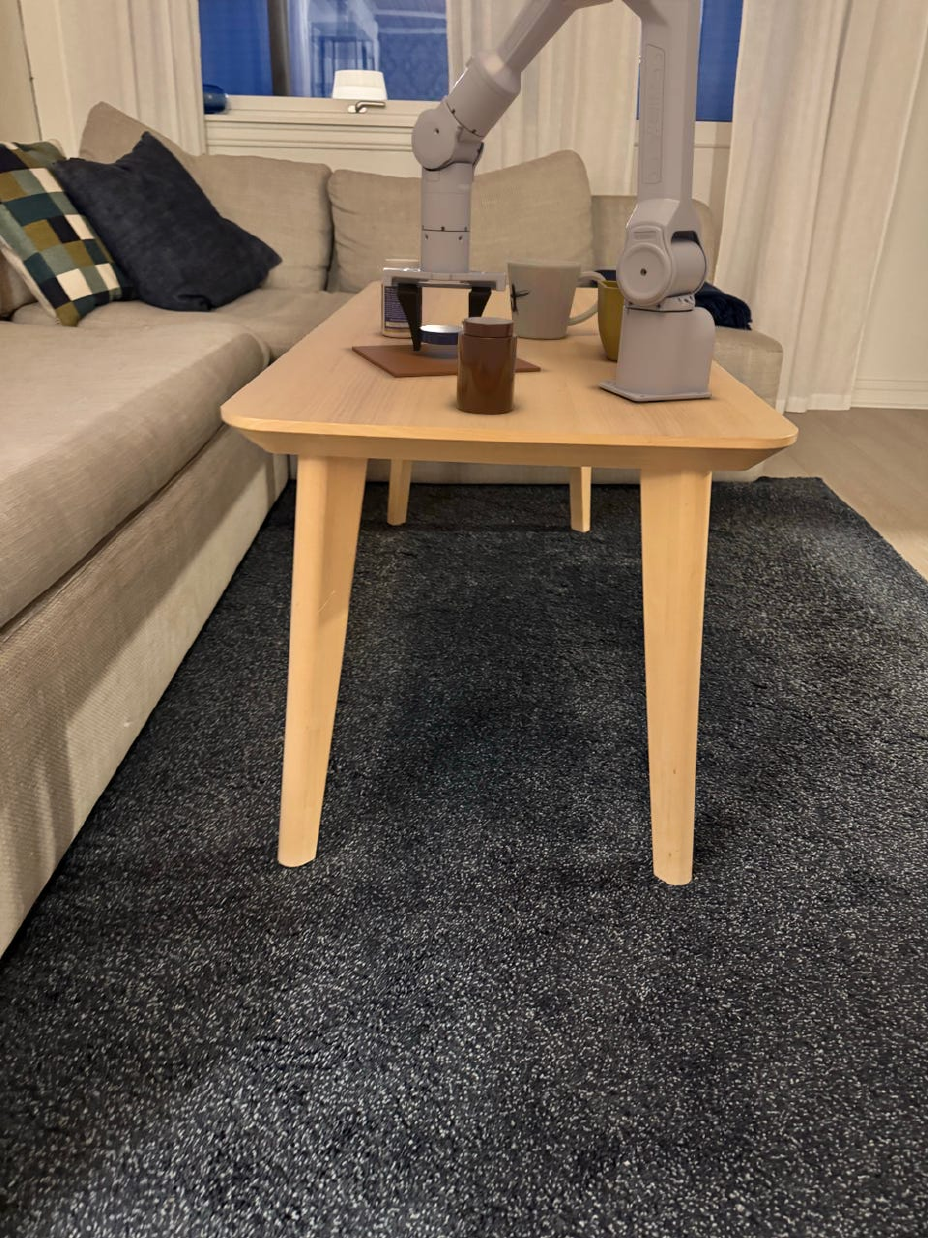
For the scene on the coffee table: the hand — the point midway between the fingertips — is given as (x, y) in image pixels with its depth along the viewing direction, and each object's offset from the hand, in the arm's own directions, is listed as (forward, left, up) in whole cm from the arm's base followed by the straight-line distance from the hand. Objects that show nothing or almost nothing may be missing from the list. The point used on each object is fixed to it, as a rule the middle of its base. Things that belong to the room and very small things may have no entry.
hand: (442, 350), depth 111 cm
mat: (0, 0, -1) cm, 1 cm away
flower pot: (-24, +4, -1) cm, 24 cm away
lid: (0, 0, +2) cm, 2 cm away
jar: (+5, +25, -1) cm, 26 cm away
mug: (-23, -15, -1) cm, 27 cm away
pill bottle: (-1, -19, -1) cm, 19 cm away
